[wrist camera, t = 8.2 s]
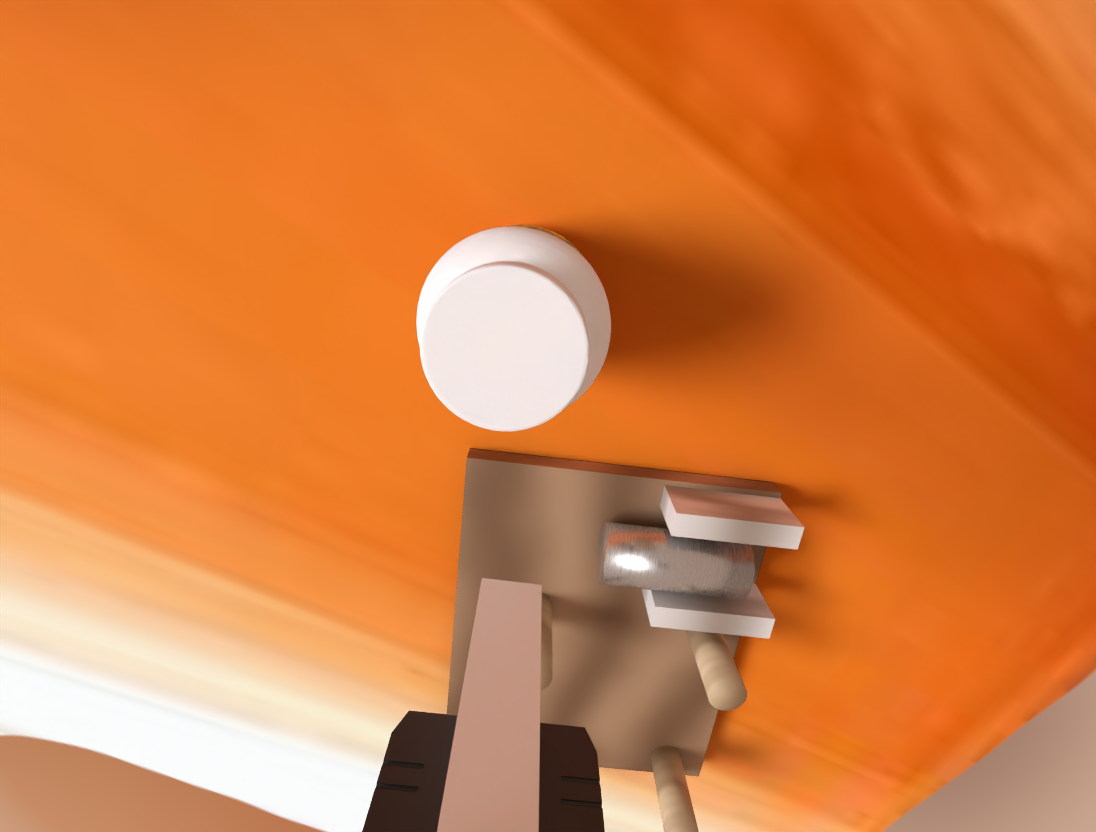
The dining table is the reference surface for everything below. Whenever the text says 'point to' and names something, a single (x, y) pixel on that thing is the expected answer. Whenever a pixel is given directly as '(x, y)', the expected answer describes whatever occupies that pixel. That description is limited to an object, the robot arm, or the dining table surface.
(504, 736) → the robot arm
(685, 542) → the pin
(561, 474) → the board
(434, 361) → the pill bottle
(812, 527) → the dining table surface
